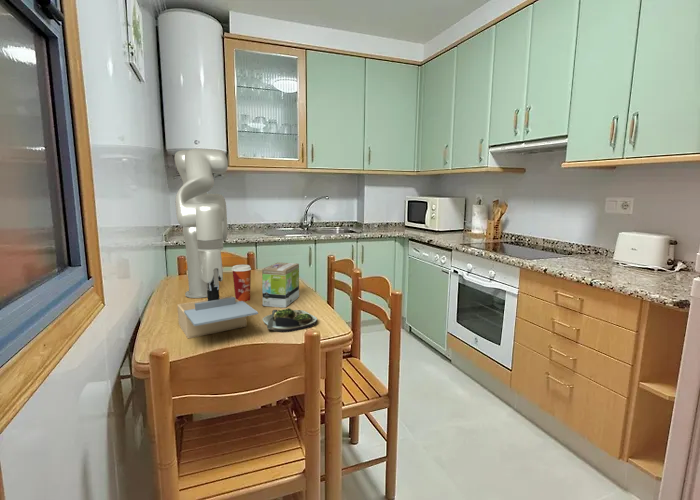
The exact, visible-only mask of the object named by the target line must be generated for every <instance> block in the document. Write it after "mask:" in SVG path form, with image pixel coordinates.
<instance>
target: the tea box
mask: <svg viewBox="0 0 700 500" xmlns="http://www.w3.org/2000/svg"><path fill="white" fill-rule="evenodd" d="M261 273H262V277H261V278H262V280H261V281H262V283H261V284H262V288H261V289H262V292H261V293H262V306H263V307H271V308H285V309H287V308H288V306H290V304H291V303H293V302H294V301H296V300H298V299H299V298H298V297H300V264H299V263H294V262H276V263H275V262H274V264H271V265H269V266H266V267H264V268H262V269H261Z"/></svg>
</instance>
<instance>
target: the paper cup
mask: <svg viewBox="0 0 700 500" xmlns="http://www.w3.org/2000/svg"><path fill="white" fill-rule="evenodd" d="M231 271H232V279H233V286H234V287H233V288H234V297H235V298H236V299H237V300H239V301H243V302H245V303H246V302H249V301H251V279H252V278H251V275H252V268H251V265H249V264H236V265H233V266H232V268H231Z"/></svg>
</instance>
